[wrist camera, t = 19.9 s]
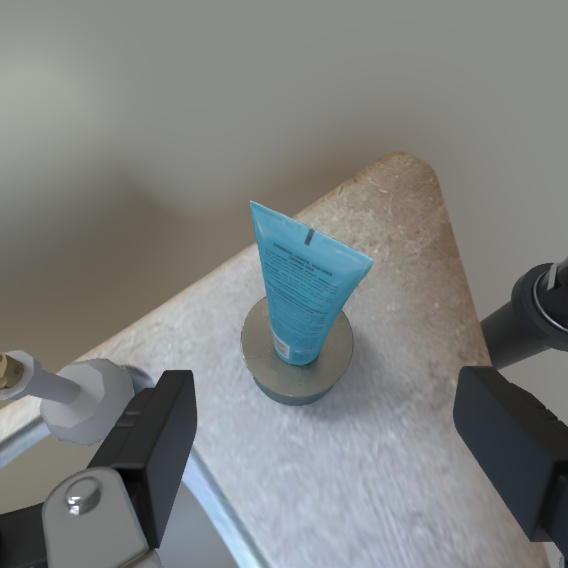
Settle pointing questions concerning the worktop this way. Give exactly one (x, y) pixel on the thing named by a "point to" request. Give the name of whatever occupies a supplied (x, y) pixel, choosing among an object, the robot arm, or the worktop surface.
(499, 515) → the worktop surface
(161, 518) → the robot arm
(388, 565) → the worktop surface
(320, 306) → the tube
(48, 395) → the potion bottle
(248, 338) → the tea tin
